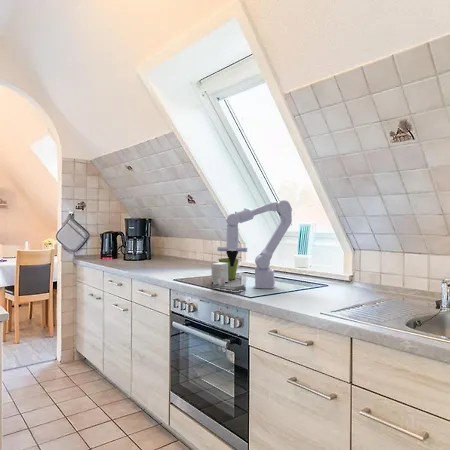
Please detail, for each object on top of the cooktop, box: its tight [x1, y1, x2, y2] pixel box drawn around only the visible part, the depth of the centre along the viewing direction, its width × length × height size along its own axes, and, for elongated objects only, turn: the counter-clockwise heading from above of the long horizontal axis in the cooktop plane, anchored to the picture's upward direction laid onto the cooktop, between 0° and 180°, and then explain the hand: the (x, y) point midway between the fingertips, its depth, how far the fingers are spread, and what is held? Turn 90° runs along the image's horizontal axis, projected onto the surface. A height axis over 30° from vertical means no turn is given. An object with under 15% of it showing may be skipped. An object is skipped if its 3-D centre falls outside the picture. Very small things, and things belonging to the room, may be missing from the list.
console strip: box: [211, 283, 247, 291], centre depth 197 cm, size 14×8×3 cm, turn 52°
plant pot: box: [217, 257, 240, 281], centre depth 230 cm, size 12×12×11 cm
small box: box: [211, 261, 229, 283], centre depth 216 cm, size 8×6×10 cm
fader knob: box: [218, 277, 226, 286], centre depth 200 cm, size 2×3×4 cm, turn 142°
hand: (232, 266), depth 204 cm, fingers closed
